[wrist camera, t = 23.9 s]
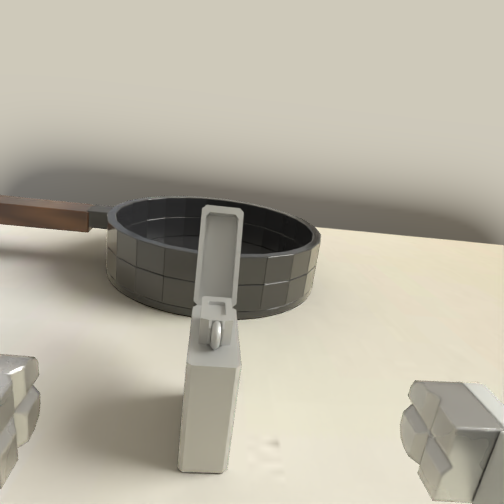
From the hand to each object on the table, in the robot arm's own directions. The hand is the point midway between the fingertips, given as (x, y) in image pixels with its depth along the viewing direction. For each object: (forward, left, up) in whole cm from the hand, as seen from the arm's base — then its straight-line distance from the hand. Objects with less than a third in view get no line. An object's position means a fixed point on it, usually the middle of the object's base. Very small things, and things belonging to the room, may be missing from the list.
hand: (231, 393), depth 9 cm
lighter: (0, -7, -6) cm, 9 cm away
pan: (0, -22, -6) cm, 23 cm away
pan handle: (+13, -22, -4) cm, 26 cm away
